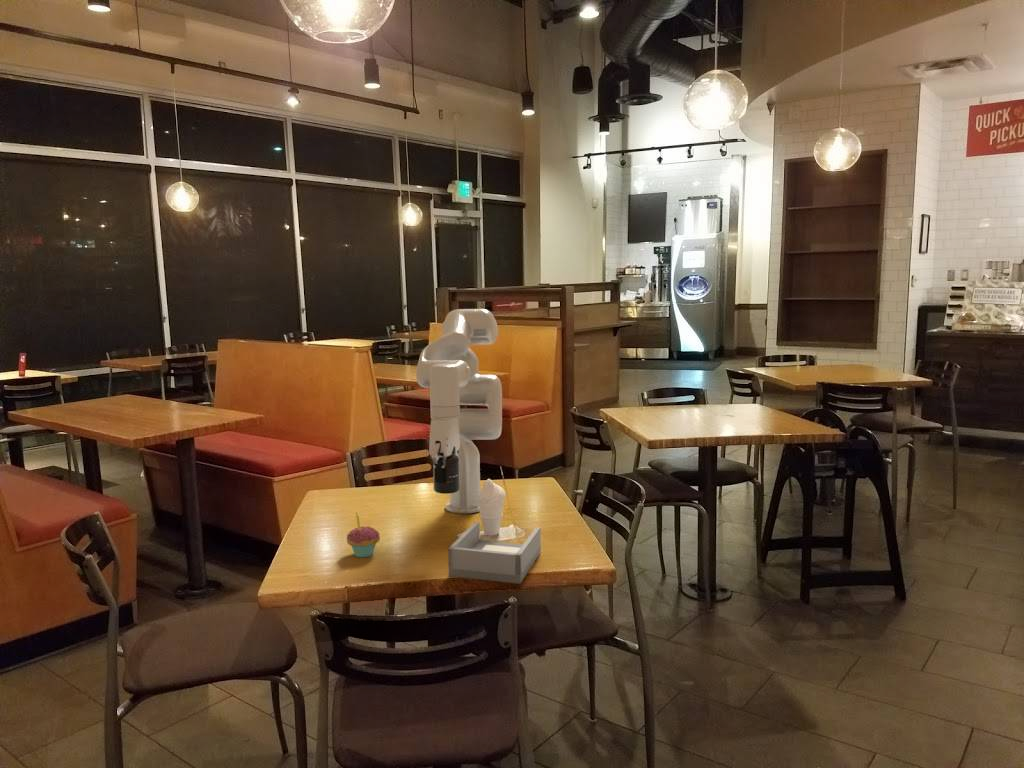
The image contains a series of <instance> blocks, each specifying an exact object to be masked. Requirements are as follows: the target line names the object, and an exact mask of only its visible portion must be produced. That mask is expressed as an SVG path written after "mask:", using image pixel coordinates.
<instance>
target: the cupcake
mask: <svg viewBox="0 0 1024 768" xmlns="http://www.w3.org/2000/svg"><path fill="white" fill-rule="evenodd" d="M355 518H356V519H355V520H356V524H357V527H355V528H354V529H352V530H350V531H349V532H348V533H347V535H346V543H347V544H348V545H349V546H350V547H351V548H352V551H353V554H354V556H355V557H357V558H367V557H370V556H372V555H373V554H374V551H375V548H376V545H377V544H378V543H379V541H380V539H381V536H380V532H379V531H378V530H376V529H375V528H373V527H370V526H369V525H367V526H361V522H360V515H359V514H358V512H355Z"/></svg>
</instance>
